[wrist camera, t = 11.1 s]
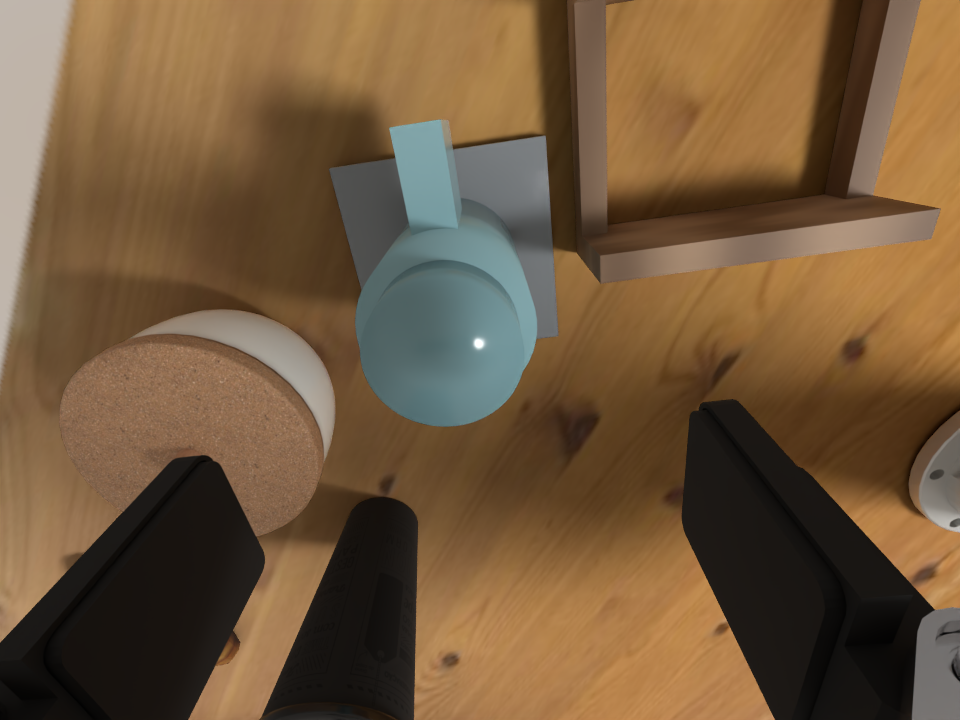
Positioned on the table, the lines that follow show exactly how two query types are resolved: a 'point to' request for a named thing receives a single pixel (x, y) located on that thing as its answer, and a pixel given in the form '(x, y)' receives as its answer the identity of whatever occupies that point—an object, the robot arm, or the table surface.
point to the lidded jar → (205, 411)
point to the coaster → (482, 178)
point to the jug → (444, 296)
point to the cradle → (759, 227)
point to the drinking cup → (358, 626)
